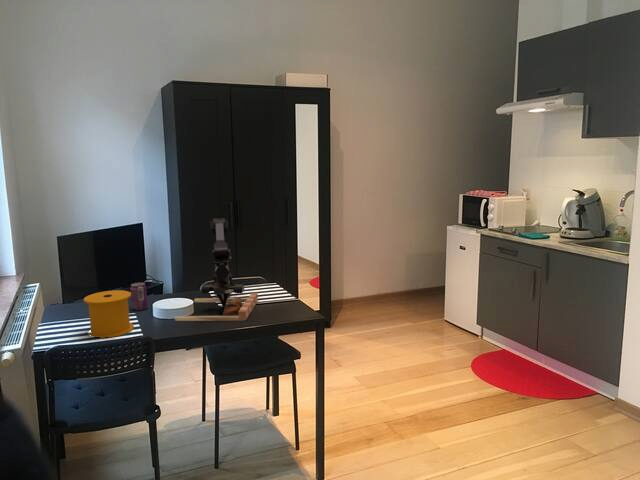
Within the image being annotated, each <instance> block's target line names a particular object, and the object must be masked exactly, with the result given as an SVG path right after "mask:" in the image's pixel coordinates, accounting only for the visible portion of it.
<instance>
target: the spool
mask: <svg viewBox="0 0 640 480" xmlns="http://www.w3.org/2000/svg"><path fill="white" fill-rule="evenodd" d="M129 298H130V299H131V292H130V291H127V290H121V289H120V290H116V289H115V290H105V291H100V292H99V291H98V292H95V293H92V294H88V295H87V296H85V297H84V298H83V303H85V304H87V305H88V314H89V323H90V329H91V332H92V333H90V334H89V335H91V336H94V337H100V338H99V339H106V338H105V337H109V338H115V336H116V337H119V336H123V335H126V334H129V333H131V332H132V331H133V330H134V329H135V325H134V324H133V323H132V322H131V321H130V311H129Z"/></svg>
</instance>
